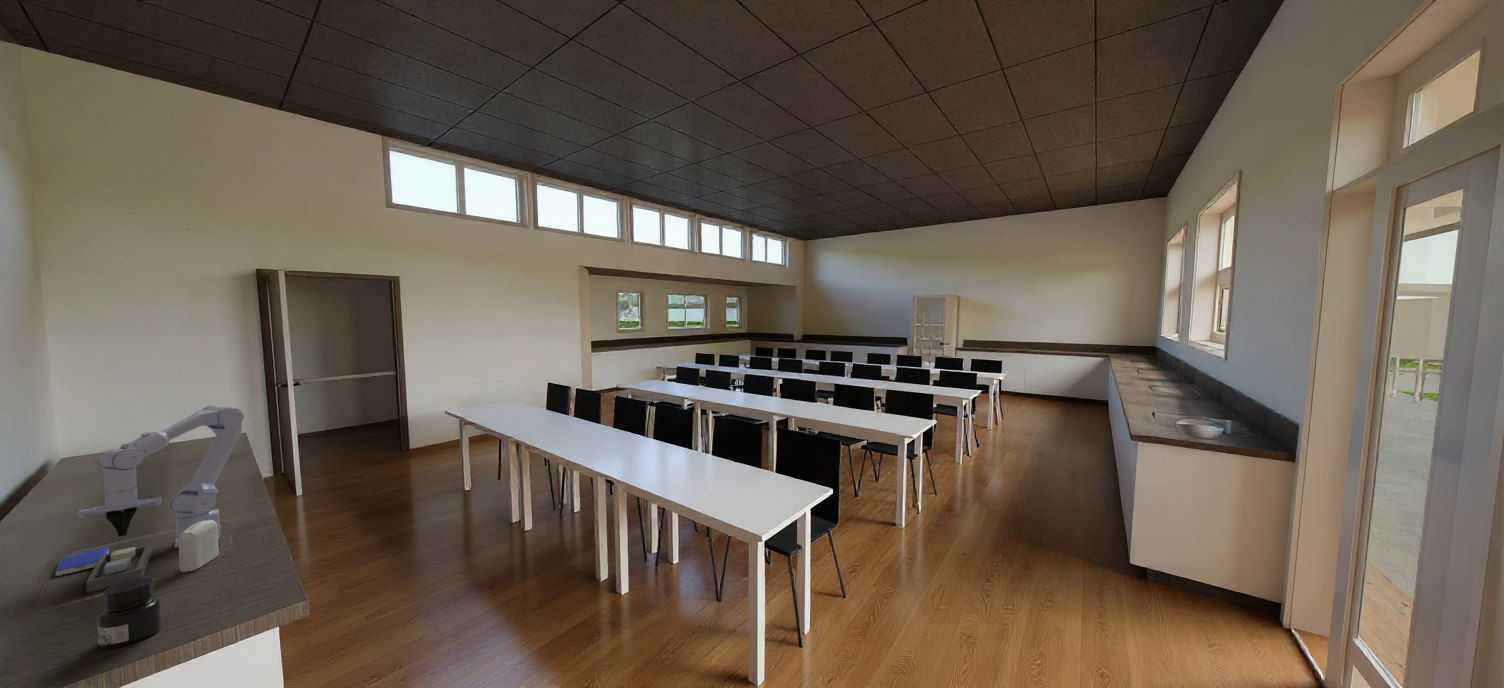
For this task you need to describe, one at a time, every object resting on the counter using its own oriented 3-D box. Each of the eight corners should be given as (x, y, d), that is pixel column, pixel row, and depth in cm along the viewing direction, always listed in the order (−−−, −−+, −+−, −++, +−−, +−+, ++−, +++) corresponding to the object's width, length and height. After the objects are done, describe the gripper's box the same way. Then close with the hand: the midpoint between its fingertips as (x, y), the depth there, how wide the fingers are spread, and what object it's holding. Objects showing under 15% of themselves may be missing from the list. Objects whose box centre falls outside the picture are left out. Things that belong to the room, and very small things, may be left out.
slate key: (128, 567, 134) (128, 558, 134) (126, 572, 131) (126, 562, 131) (107, 572, 131) (106, 562, 131) (104, 577, 129) (104, 567, 129)
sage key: (133, 556, 140) (132, 547, 140) (131, 560, 138) (131, 551, 138) (113, 560, 138) (112, 551, 137) (110, 565, 135) (110, 556, 135)
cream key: (135, 555, 143) (135, 546, 143) (134, 559, 141) (133, 550, 141) (116, 559, 141) (115, 550, 141) (113, 564, 138) (113, 555, 138)
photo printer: (203, 557, 145) (201, 517, 145) (221, 555, 147) (220, 515, 146) (176, 574, 136) (174, 531, 135) (196, 571, 137) (194, 529, 136)
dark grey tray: (151, 554, 147) (150, 544, 146) (142, 579, 132) (141, 569, 132) (102, 565, 140) (101, 555, 140) (86, 592, 126) (86, 581, 126)
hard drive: (62, 556, 141) (55, 571, 133) (108, 546, 147) (104, 559, 139) (62, 561, 141) (55, 576, 133) (108, 551, 147) (104, 564, 139)
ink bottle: (90, 643, 106) (87, 591, 106) (150, 620, 115) (148, 572, 114) (109, 654, 103) (106, 600, 102) (170, 630, 111) (168, 580, 111)
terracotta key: (131, 566, 137) (130, 557, 137) (129, 570, 135) (128, 561, 135) (110, 571, 134) (109, 561, 134) (108, 575, 132) (107, 566, 132)
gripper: (75, 499, 131) (77, 547, 132) (158, 486, 142) (160, 531, 142) (81, 493, 136) (83, 539, 137) (161, 481, 147) (163, 524, 147)
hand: (123, 534), depth 140 cm, fingers closed
